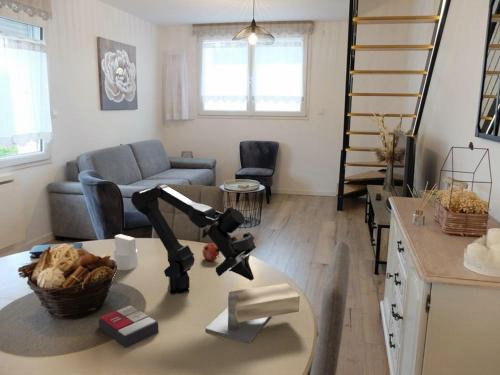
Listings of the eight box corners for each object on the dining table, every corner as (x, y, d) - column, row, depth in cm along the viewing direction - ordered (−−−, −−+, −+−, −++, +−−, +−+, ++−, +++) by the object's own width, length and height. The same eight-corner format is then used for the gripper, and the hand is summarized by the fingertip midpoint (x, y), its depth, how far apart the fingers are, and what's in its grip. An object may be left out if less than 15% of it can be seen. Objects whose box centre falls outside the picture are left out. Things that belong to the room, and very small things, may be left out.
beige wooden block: (223, 320, 124) (224, 289, 122) (285, 309, 131) (286, 280, 129) (232, 336, 116) (233, 303, 114) (298, 324, 123) (299, 293, 121)
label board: (205, 330, 120) (205, 327, 120) (244, 293, 143) (244, 290, 143) (248, 343, 114) (248, 340, 114) (282, 302, 137) (282, 299, 137)
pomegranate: (210, 259, 177) (194, 250, 171) (220, 245, 178) (204, 236, 172) (218, 267, 171) (202, 258, 165) (228, 253, 172) (212, 243, 166)
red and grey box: (130, 303, 128) (158, 319, 118) (131, 316, 129) (159, 333, 119) (97, 316, 121) (123, 334, 110) (98, 330, 121) (125, 349, 111)
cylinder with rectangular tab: (142, 264, 166) (141, 236, 163) (125, 272, 158) (123, 242, 156) (127, 259, 171) (126, 231, 168) (109, 266, 163) (107, 238, 160)
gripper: (225, 235, 121) (257, 278, 119) (251, 219, 138) (280, 256, 136) (202, 255, 126) (233, 296, 124) (230, 237, 143) (258, 273, 141)
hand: (252, 279), depth 131 cm, fingers closed
